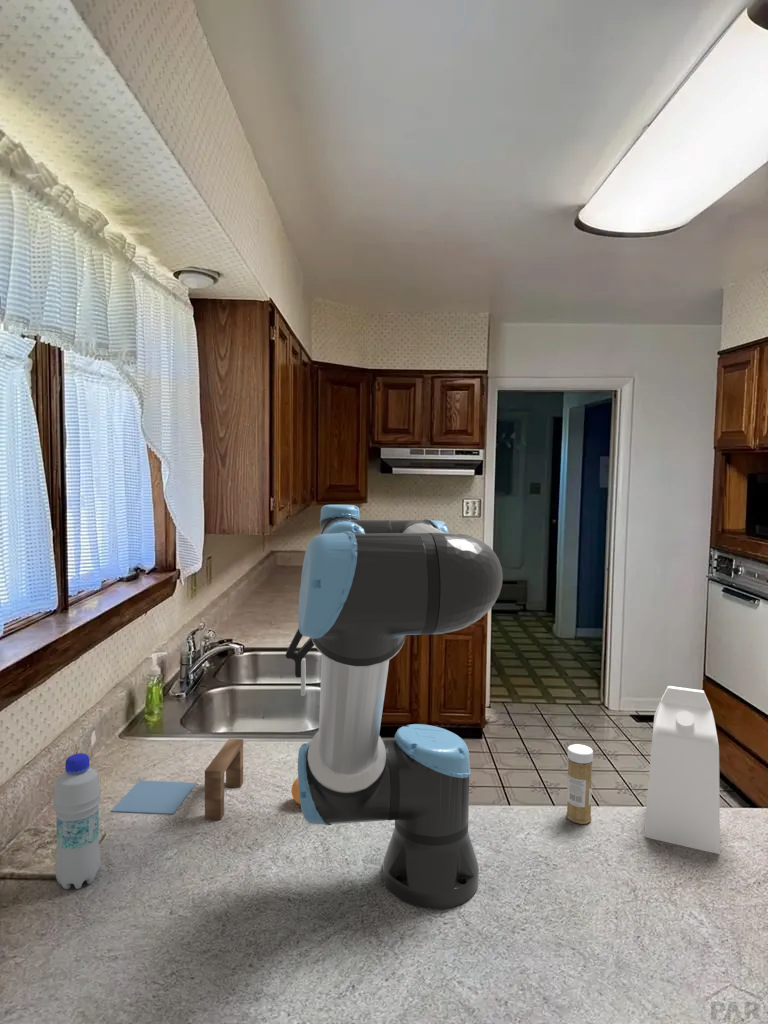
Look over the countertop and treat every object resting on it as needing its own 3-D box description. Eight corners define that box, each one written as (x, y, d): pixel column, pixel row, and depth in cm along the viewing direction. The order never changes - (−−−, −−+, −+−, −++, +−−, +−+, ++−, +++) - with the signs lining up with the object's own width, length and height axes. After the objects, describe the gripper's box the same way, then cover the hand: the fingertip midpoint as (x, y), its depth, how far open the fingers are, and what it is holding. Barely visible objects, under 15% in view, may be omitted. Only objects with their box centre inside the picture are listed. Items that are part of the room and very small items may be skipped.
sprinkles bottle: (596, 820, 117) (598, 750, 117) (580, 827, 115) (582, 755, 114) (576, 809, 121) (578, 741, 120) (560, 816, 118) (562, 746, 118)
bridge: (243, 782, 130) (243, 739, 130) (220, 820, 116) (220, 771, 115) (229, 782, 130) (228, 738, 130) (204, 819, 116) (204, 770, 115)
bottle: (111, 872, 100) (110, 749, 99) (78, 898, 94) (76, 767, 93) (78, 863, 102) (77, 743, 101) (44, 888, 96) (42, 760, 95)
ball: (317, 811, 119) (317, 783, 119) (288, 810, 119) (288, 782, 119) (322, 797, 125) (322, 770, 124) (294, 796, 125) (294, 769, 125)
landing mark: (173, 814, 118) (173, 813, 118) (111, 811, 118) (111, 810, 118) (196, 783, 130) (196, 782, 130) (139, 781, 130) (139, 780, 130)
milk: (715, 821, 117) (721, 684, 116) (719, 854, 107) (725, 704, 106) (646, 806, 122) (650, 675, 121) (643, 836, 112) (648, 693, 111)
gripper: (401, 581, 125) (399, 684, 127) (275, 581, 123) (275, 686, 125) (406, 588, 118) (404, 698, 119) (272, 588, 116) (271, 700, 117)
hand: (338, 692), depth 122 cm, fingers open, 13 cm apart
